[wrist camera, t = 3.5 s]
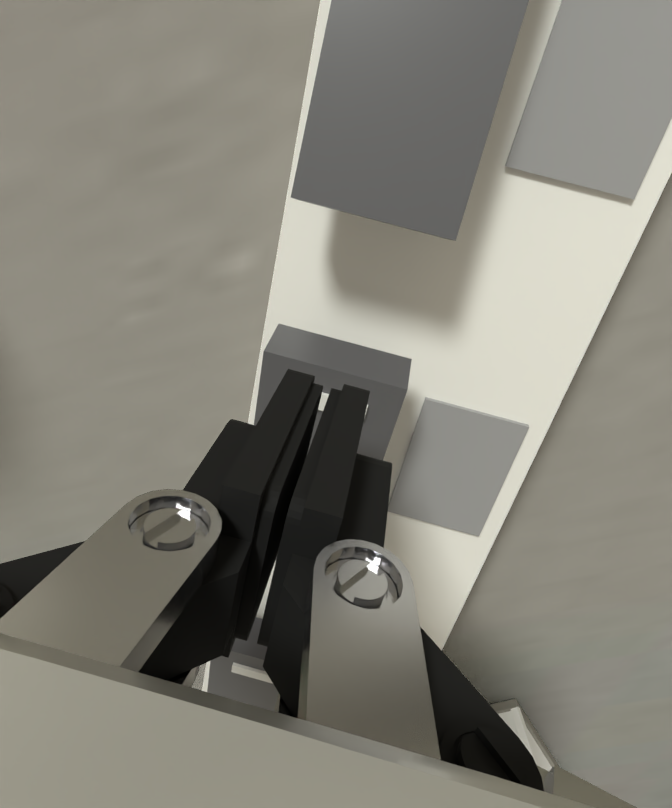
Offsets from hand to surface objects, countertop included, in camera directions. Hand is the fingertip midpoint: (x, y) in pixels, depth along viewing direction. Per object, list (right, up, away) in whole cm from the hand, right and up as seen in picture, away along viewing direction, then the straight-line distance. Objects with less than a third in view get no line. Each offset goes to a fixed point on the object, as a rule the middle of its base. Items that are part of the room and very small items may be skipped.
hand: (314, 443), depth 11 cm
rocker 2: (+2, +9, +1) cm, 9 cm away
